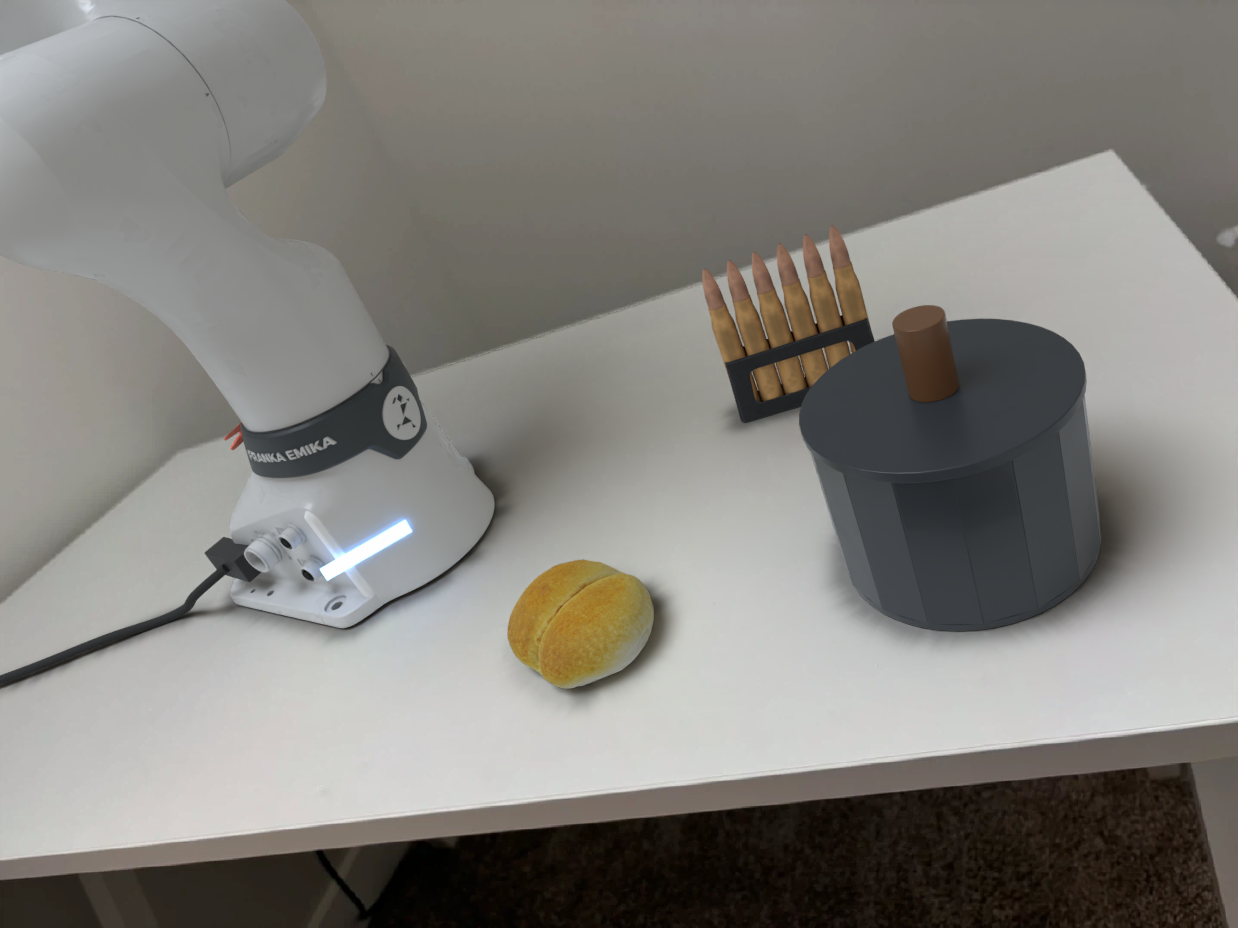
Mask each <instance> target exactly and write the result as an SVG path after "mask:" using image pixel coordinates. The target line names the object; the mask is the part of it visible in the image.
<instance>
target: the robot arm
mask: <svg viewBox="0 0 1238 928" xmlns="http://www.w3.org/2000/svg"><path fill="white" fill-rule="evenodd" d="M320 48H321V47H320V46H319V44H318V42H317V39H316V38H315V35H314V33H313V32H312V30H311V28H310V27H309V25H308V24H307V22H306V21H305V20H304V19H303V17H302V15H300V13H299V12H298V11H297V9H295V8H294V7H293V6H292V4H290V3H289V2H288V1H287V0H0V256H1V257H3V258H6V259H8V260H10V261H12V262H14V263H17V264H19V265H22V266H25V267H28V268H32V269H34V270H39V271H45V272H51V273H59V274H60V273H61V274H67V275H69V276H70V275H71V276H75V277H79V278H83V279H86V280H88V281H89V280H90V281H92V282H95V283H98V284H101V285H103V286H105V287H107V288H108V289H112V290H113V291H116V292H118V293H119V294H122V295H123V296H125V297H127V298H128V299H130V300H131V301H133V302H135V303H137V304H138V305H140V306H141V307H142V308H144V309H146V310H147V311H148V312H150V313H151V314H152V315H153V316H155V317H156V318H157V319H159V320H160V321H161V322H162V323H163V324H164V325H166V327H168V328H169V330H171V331H172V332H173V333H174V334H175V335H176V337H177V338H178V339H179V340H180V341H181V342H182V343H183V344H184V345H185V347H186V348H187V349H188V350H189V352H191V354H192V356H193V357H194V358H195V359H196V360H197V361H198V363H199V364H200V366H201V367H202V368H203V370H204V371H205V372H206V374H207V375H208V376H209V378H210V379H211V381H212V382H213V383H214V385H215V386H216V388H217V389H218V390H219V392H220V393H221V394H222V396H223V398H224V399H225V401H226V402H227V403H228V404H229V407H231V409H232V410H233V412H234V413H235V415H236V417H237V418H238V419H239V420H240V423H238V424H237V425H236V426H235V427H233V429H232V430H231V431H230V432H229V433H227V434H226V435H225V436H224V438H223V440H224V441H228V440H230V439H231V438H232V437H233V436H235V435H236V434H237V433H238V435H237V436H236V438H234V441H233V442H232V444H231V445H230V447H229V450H231V451H234V450H236V449H237V448H238V447H239V446H240V445H241V444H243V445H244V448H245V452H246V455H247V458H248V462H249V465H250V468H251V473H250V475H249V477H248V479H247V482H246V484H245V485H244V488H243V491H242V492H241V494H240V497H239V499H238V502H237V503H236V505H235V507H234V509H233V511H232V514H231V517H230V519H229V520H230V521H229V534H230V537H226V536H223V537H221V538H220V539H219V540H218V541H216V542H215V543H214V544H213V545H211V546H210V547H209V548H208V549H207V550H206V551H205V552H204V555H205V556H206V558H207V559H208V560H209V561H210V563H211V564H212V565H213V567H214V568H215V569H216V570H214V571H213V572H212V573H211V574H210V575H208V577H206V578H205V579H204V580H203V581H201V582H200V584H198V585H197V587H195V588H194V589H193V590H192V591H191V593H190V594H189V595H188V596H187V597H186V599H185V600H184V602H183V604H182V605H180V606H178V607H177V608H175V609H173V610H171V611H168V612H167V613H164V614H161V615H159V616H157V617H154V618H151V619H148V620H144V621H141V622H138V623H136V624H131V625H129V626H125V627H122V628H120V629H116V630H114V631H110V632H108V633H105V634H102V635H99V636H97V637H94V638H91V639H90V640H87V641H85V642H81V643H80V644H77V645H74V646H72V647H70V648H67V649H64V650H63V651H60V652H58V653H55V654H52V655H50V656H47V657H45V658H42V659H39V660H37V661H34V662H32V663H29V664H26V665H24V666H22V667H19V668H16V669H13V670H11V671H8V672H5V673H3V674H0V685H3V684H6V683H9V682H12V681H14V680H18V679H19V678H22V677H26V676H29V675H30V674H33V673H36V672H38V671H41V670H44V669H47V668H49V667H52V666H53V665H56V664H59V663H61V662H63V661H66V660H69V659H71V658H73V657H76V656H78V655H81V654H83V653H85V652H89V651H91V650H93V649H96V648H98V647H101V646H104V645H106V644H109V643H112V642H115V641H117V640H120V639H124V638H126V637H129V636H133V635H136V634H139V633H142V632H145V631H148V630H151V629H155V628H157V627H160V626H163V625H165V624H167V623H171V622H173V621H175V620H177V619H179V618H181V617H183V616H185V615H187V614H188V613H189V612H190V611H192V609H193V608H194V607H195V605H196V603H197V601H198V600H199V599H200V598H201V597H202V596H203V595H204V594H205V593H206V592H207V591H209V590H210V589H211V588H212V587H213V586H214V585H215V584H217V583H218V582H219V581H220V580H221V579H222V578H224V577H225V576H226V577H230V578H234V580H233V581H232V585H231V587H230V592H229V595H230V597H231V599H232V600H233V602H234V604H236V605H238V606H241V607H246V608H250V609H254V610H259V611H262V612H268V613H272V614H277V615H279V616H285V617H290V618H293V619H298V620H303V621H306V622H312V623H316V624H320V625H325V626H329V627H333V628H337V629H346V628H350V627H352V626H354V625H356V624H358V623H359V622H361V621H363V620H364V619H366V618H367V617H368V616H370V615H371V614H373V613H375V612H376V611H377V610H378V609H379V608H381V607H383V605H385V604H387V603H389V602H391V601H393V600H395V599H397V598H399V597H401V596H403V595H406V594H408V593H410V592H412V591H414V590H416V589H419V588H420V587H422V586H424V585H426V584H427V583H429V582H431V581H433V580H434V579H436V578H438V577H439V576H441V575H442V574H444V573H445V572H446V571H448V570H449V569H450V568H452V567H453V566H454V565H455V564H457V563H458V562H459V561H460V560H461V559H463V558H464V556H466V554H468V553H469V552H470V551H471V549H472V548H473V547H474V546H475V545H476V544H477V543H478V542H479V541H480V540H481V538H482V536H483V535H484V533H485V532H486V530H487V529H488V527H489V525H490V524H491V521H492V519H493V516H494V513H495V505H496V504H495V498H494V495H493V493H492V491H491V489H489V488H488V487H487V485H486V484H484V482H483V481H482V480H481V479H480V478H479V477H478V476H477V475H476V473H475V469H474V467H473V465H472V463H471V462H470V460H469V459H468V458H467V457H466V456H464V455H461V454H460V453H459V452H458V451H457V449H456V448H455V446H454V445H453V443H452V442H451V440H450V439H449V438H448V437H447V435H446V433H445V432H444V431H443V429H442V428H441V426H440V425H439V423H438V422H437V421H436V419H435V418H434V416H433V415H432V413H431V412H430V411H429V410H428V408H427V406H426V405H425V404H424V403H423V401H422V400H421V398H420V396H419V391H418V387H417V385H416V383H415V382H414V380H413V378H412V376H411V375H410V372H409V371H408V367H407V365H406V364H405V361H404V360H403V359H402V358H400V355H399V354H398V352H397V351H396V349H395V348H394V347H393V346H391V345H389V344H386V343H385V341H384V338H383V337H382V335H381V334H380V332H379V330H378V328H377V326H376V325H375V322H374V321H373V319H372V316H371V315H370V314H369V311H368V310H367V308H366V306H365V305H364V303H363V301H362V299H361V297H360V295H359V294H358V292H357V290H356V288H355V287H354V284H353V283H352V281H351V278H350V277H349V275H348V274H347V272H346V270H345V268H344V266H343V264H342V263H341V261H340V260H339V259H338V258H337V256H335V255H334V254H333V253H332V252H330V251H329V250H328V249H326V248H324V247H323V246H321V245H319V244H316V243H314V242H311V241H307V240H304V239H303V240H302V239H298V238H297V239H296V238H287V237H272V236H270V235H268V234H267V233H265V232H264V231H263V230H261V228H259V227H257V226H256V225H255V224H254V223H253V222H252V221H250V220H249V218H247V217H246V215H245V214H244V213H243V212H242V211H241V210H240V209H239V208H238V206H237V205H236V204H235V203H234V201H233V200H232V198H231V197H230V195H229V194H228V192H227V189H229V188H230V187H231V186H233V185H235V184H237V183H238V182H240V181H242V180H243V179H245V178H246V177H248V176H250V175H251V174H254V172H257V171H258V170H260V169H261V168H263V167H264V166H266V165H268V164H270V163H271V162H274V161H275V160H276V159H279V157H281V156H282V155H283V154H284V153H285V152H286V151H287V150H289V148H290V147H292V145H293V144H294V143H295V142H296V141H297V140H298V139H299V138H300V137H301V135H302V134H303V133H304V132H305V131H306V130H307V128H308V127H309V126H310V125H311V124H312V122H313V121H315V120H316V118H317V117H318V115H319V114H320V113H321V112H322V111H321V110H322V109H323V106H324V104H325V100H326V96H327V88H328V77H327V69H326V65H325V61H324V56H323V55H322V52H321V49H320Z"/></svg>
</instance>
